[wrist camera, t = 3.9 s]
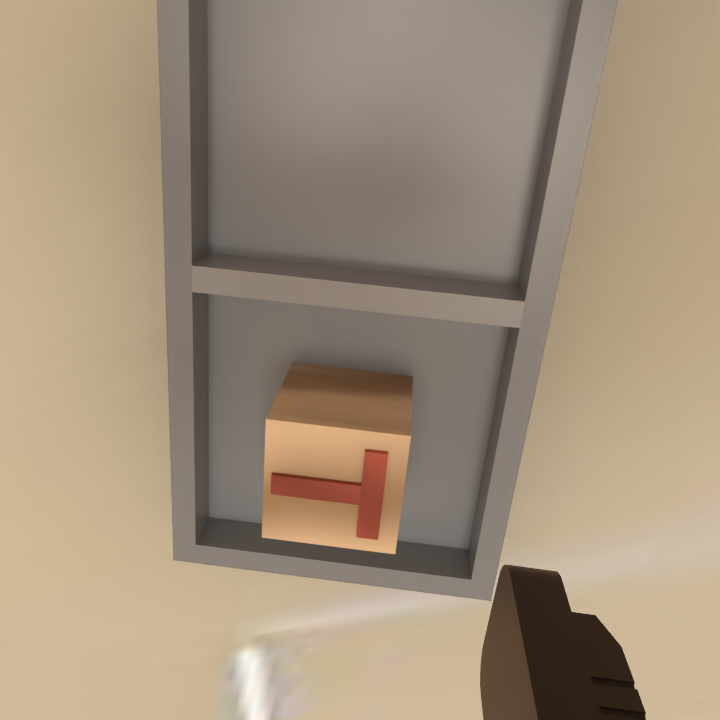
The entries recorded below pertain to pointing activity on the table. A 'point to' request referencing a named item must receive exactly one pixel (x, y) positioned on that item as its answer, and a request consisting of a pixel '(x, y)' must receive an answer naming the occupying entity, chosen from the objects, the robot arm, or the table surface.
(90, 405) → the table surface
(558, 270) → the tray
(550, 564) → the table surface
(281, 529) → the letter cube
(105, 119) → the table surface
